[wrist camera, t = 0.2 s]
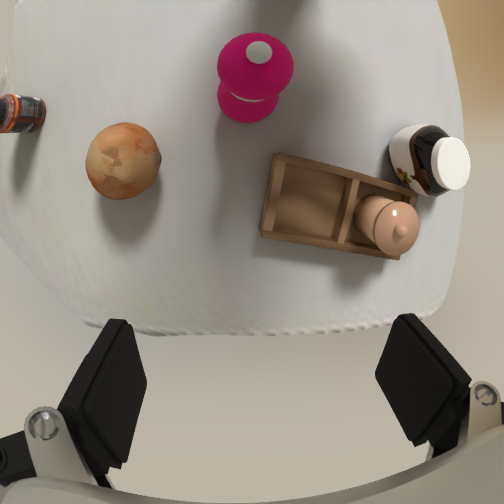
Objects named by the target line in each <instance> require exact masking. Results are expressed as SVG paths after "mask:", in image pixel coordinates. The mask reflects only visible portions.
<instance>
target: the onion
mask: <svg viewBox="0 0 504 504" xmlns="http://www.w3.org/2000/svg"><path fill="white" fill-rule="evenodd" d="M161 159H162V158H161V154H160V151H159V148H158V147H157V144H156V142H155V140H154V138H153V137H152V135H151V134H150V133H149V132H148V131H147V130H146V129H144V128H143V127H141V126H139V125H137V124H133V123H118V124H115V125H112V126H109V127H107V128H106V129H104V130H103V131H101V132H100V133H99V134H98V135H97V136H96V137H95V138H94V140H93V141H92V143H91V145H90V147H89V150H88V153H87V158H86V171H87V175H88V178H89V180H90V182H91V184H92V186H93V187H94V188H95V189H96V190H97V191H98V192H99V193H101V194H102V195H104V196H105V197H107V198H110V199H116V200H119V199H128V198H131V197H134V196H136V195H138V194H140V193H141V192H142V191H144V190H145V189H147V188H148V187H149V186H150V185H151V184H152V183H153V181H154V179H155V177H156V175H157V172H158V170H159V167H160V164H161Z"/></svg>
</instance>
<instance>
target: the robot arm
mask: <svg viewBox="0 0 504 504" xmlns="http://www.w3.org/2000/svg"><path fill="white" fill-rule="evenodd" d="M375 377H376V380H377V382H378V384H379V385H380V387H381V389H382V391H383V393H384V394H385V396H386V398H387V400H388V402H389V404H390V406H391V408H392V409H393V411H394V413H395V415H396V417H397V419H398V421H399V423H400V425H401V426H402V428H403V431H404V433H405V435H406V437H407V438H408V440H409V441H412V443H413V445H414V446H415V447H416V446H418V445H421V444H423V443H426V442H427V440H429V443H430V445H429V449H428V453H427V457H426V460H425V462H424V463H422V464H420V465H418V466H415V467H413V468H410V469H408V470H405V471H403V472H400V473H398V474H395V475H392V476H389V477H386V478H384V479H380V480H377V481H374V482H371V483H368V484H364V485H361V486H357V487H353V488H349V489H345V490H341V491H337V492H333V493H328V494H323V495H318V496H312V497H306V498H299V499H292V500H285V501H274V502H261V503H235V504H504V402H501V400H500V394H499V392H498V390H497V389H496V388H495V387H494V386H493V385H492V384H490V383H488V382H484V381H479V382H476V383H474V384H473V385H472V387H471V388H469V386H468V385H469V384H470V382H471V380H472V379H471V378H470V377H469V375H468V374H467V373H466V372H465V370H464V369H463V368H462V367H461V366H460V364H459V363H458V362H457V361H456V360H455V359H454V357H453V356H452V355H451V354H450V353H449V352H448V351H447V349H446V348H445V347H444V346H443V345H442V344H441V343H440V342H439V340H438V339H437V338H436V337H435V336H434V335H433V334H432V333H431V332H430V330H429V329H428V328H427V327H426V326H425V325H424V324H423V323H422V322H421V321H420V320H419V319H418V317H417V316H416V315H415V314H413V313H409V314H401V315H399V316H398V317H397V319H395V320H394V322H393V325H392V328H391V331H390V334H389V336H388V340H387V342H386V345H385V348H384V350H383V353H382V356H381V358H380V361H379V363H378V366H377V368H376V371H375ZM146 387H147V380H146V376H145V373H144V369H143V366H142V362H141V359H140V355H139V351H138V347H137V344H136V339H135V335H134V331H133V327H132V325H131V324H128V323H127V321H126V320H123V319H109V320H108V322H107V323H106V325H105V326H104V328H103V330H102V331H101V333H100V335H99V336H98V338H97V340H96V342H95V343H94V345H93V347H92V348H91V350H90V351H89V353H88V354H87V355H86V356H85V358H84V360H83V362H82V363H81V365H80V367H79V368H78V370H77V372H76V374H75V376H74V377H73V379H72V381H71V383H70V385H69V387H68V389H67V391H66V392H65V394H64V396H63V398H62V400H61V402H60V404H59V406H58V408H57V409H54V408H52V407H46V406H44V407H39V408H37V409H34V410H33V411H32V412H30V413H29V415H28V416H27V418H26V419H25V424H24V430H23V431H20V432H18V433H15V434H12V435H10V436H7V437H3V438H1V439H0V504H229V503H199V502H186V501H177V500H169V499H161V498H154V497H148V496H142V495H137V494H132V493H127V492H123V491H118V490H116V489H115V487H114V485H113V484H112V482H111V480H110V479H109V477H108V475H107V474H108V471H109V467H113V468H117V469H121V466H122V462H123V463H126V462H127V460H128V456H129V452H130V447H131V444H132V440H133V435H134V432H135V427H136V424H137V419H138V416H139V413H140V409H141V405H142V402H143V398H144V395H145V391H146ZM232 504H234V503H232Z"/></svg>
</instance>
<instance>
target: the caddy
mask: <svg viewBox="0 0 504 504" xmlns="http://www.w3.org/2000/svg"><path fill="white" fill-rule="evenodd" d="M370 194H376V195H379V196H382V197H384V198H387V199H390V200H393V201H401V202H404V203H407V204H409V205H411V206H412V207H413V208H414V209H415V205H416V201H417V196H418V193H416V192H415V191H413V190H410V189H407V188H405V187H402V186H399V185H396V184H393V183H390V182H387V181H384V180H381V179H377V178H374V177H371V176H368V175H364V174H361V173H358V172H354V171H351V170H347V169H343V168H340V167H336V166H332V165H329V164H325V163H321V162H317V161H313V160H308V159H304V158H300V157H295V156H291V155H286V154H281V153H274V155H273V160H272V165H271V171H270V176H269V181H268V186H267V191H266V196H265V201H264V206H263V211H262V217H261V222H260V227H259V231H260V234H261V237H263V238H269V239H275V240H282V241H288V242H294V243H300V244H306V245H312V246H318V247H324V248H330V249H336V250H342V251H348V252H354V253H359V254H365V255H371V256H376V257H382V258H388V259H393V260H399V259H400V256H401V255H397V256H391V255H388V254H386V253H384V252H383V251H381V250H380V249H379V248H378V246H377V245H376V243H374V242H373V241H372V240H370V239H369V238H367V237H366V236H365V235H363V234H362V233H360V232H359V231H358V230H357V228H356V227H355V225H354V221H353V213H354V209H355V206H356V204H357V203H358V202H359V200H360V199H362V198H363V197H364V196H367V195H370Z"/></svg>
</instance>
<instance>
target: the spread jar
mask: <svg viewBox="0 0 504 504" xmlns="http://www.w3.org/2000/svg"><path fill="white" fill-rule="evenodd" d="M389 159H390V163H391V166H392V168H393V170H394V172H395V174H396V175H397V177H398V178H399V179H400V181H401V182H402V183H403V184H404V185H405V186H406V187H407V188H408V189H410V190H413V191H415V192H416V193H418V194H421V195H425V196H429V197H437V196H440V195H442V194H444V193H446V192H448V191H449V190H459V189H461V188H462V187H463V186H464V185H465V184H466V182H467V180H468V178H469V174H470V158H469V154H468V151H467V149H466V147H465V145H464V144H463V143H462V142H461V141H460V140H458V139H457V138H451V137H449V136H448V134H447V133H446V132H445V131H443V130H442V129H441V128H439V127H437V126H435V125H427V124H424V125H413V126H409V127H406V128H404V129H402V130H400V131H399V132H397V133H396V134H395V135H394V136H393V137H392V139H391V140H390V143H389Z"/></svg>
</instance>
